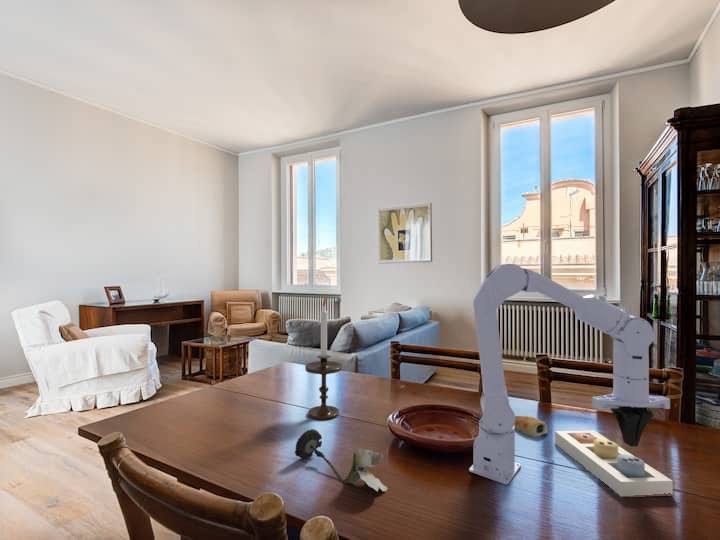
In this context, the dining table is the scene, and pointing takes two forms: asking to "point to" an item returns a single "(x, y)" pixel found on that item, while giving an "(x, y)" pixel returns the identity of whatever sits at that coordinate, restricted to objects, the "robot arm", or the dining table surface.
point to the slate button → (630, 466)
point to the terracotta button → (584, 438)
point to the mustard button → (605, 449)
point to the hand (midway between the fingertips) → (630, 444)
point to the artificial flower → (360, 459)
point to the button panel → (612, 467)
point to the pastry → (530, 426)
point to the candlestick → (323, 374)
